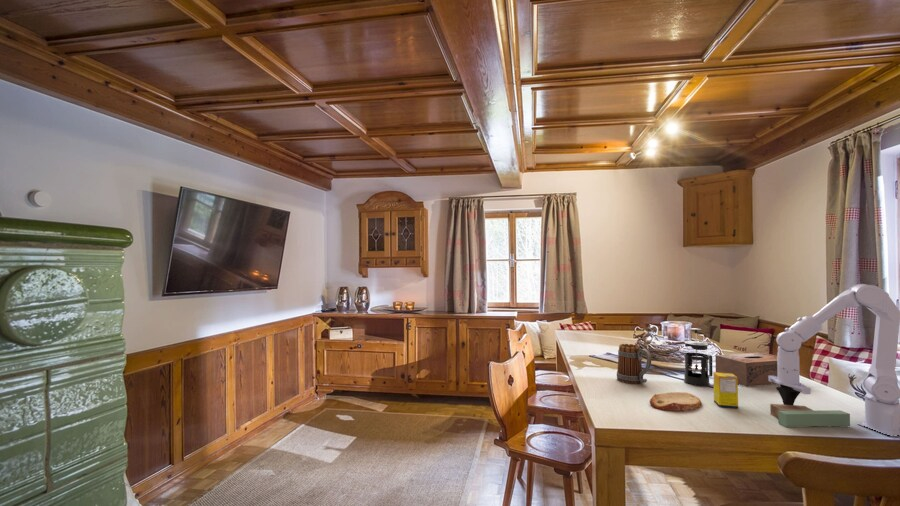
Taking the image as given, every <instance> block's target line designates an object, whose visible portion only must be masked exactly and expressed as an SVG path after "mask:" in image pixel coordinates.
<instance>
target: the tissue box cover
mask: <svg viewBox="0 0 900 506" xmlns="http://www.w3.org/2000/svg"><path fill="white" fill-rule="evenodd" d="M715 372H720V373H732V374H733V375H735V376H736V377H737V381H738V385H739V384H740V386H744V387H756V386H757V387H758V386H769V385H778V384H777V383H774V382H770V381H769V380H768V376H776V377H778V375H777V355H773V354H770V353H766V352H748V353H729V354H728V353H727V354H715Z"/></svg>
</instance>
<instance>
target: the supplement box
mask: <svg viewBox="0 0 900 506" xmlns="http://www.w3.org/2000/svg"><path fill="white" fill-rule="evenodd" d="M712 377H713V378H712V379H713V402H714V403H715V405H716V406H717V407H719V408H731V409H739V394H738V393H739V392H738V391H739V390H738V389H739V388H738V386H739V384H738V381H737V377H736V376H735V375H733V374H732V373H720V372H716V371H713V376H712Z"/></svg>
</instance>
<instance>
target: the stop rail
mask: <svg viewBox="0 0 900 506" xmlns="http://www.w3.org/2000/svg"><path fill="white" fill-rule="evenodd" d="M777 420H778V423H779V425H781V426H783V427H785V426H786V427H785V428H808V427H807V426H840V427H839V428H844V427H843V426H850V427H851V414H850V413H848V412H846V411H843V410H839V409H838V410H835V409H834V410H829V409H828V410H814V411H778V419H777Z"/></svg>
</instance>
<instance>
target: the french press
mask: <svg viewBox="0 0 900 506" xmlns="http://www.w3.org/2000/svg"><path fill="white" fill-rule="evenodd" d="M690 331H694V334H695V340H688V341H687V340H685V341H684V342H683V344H685V347H686V348H687V347H691V349H693V350H695V352H690V351H689V352H684V353H683V354H684V355H683V357H684V373H683V374H684V380H683V382H684V383H685V384H687V385H690V386H695V387H710V385H711V383H710V377H713V372H714V371H713V355H711V354H705V353H701V352H698V351H707V350H708V346H709V343H707V342H703V341H697V340H698V339H697V334H698V331H702V329H701V328H697V327H696V328H695V327H694V328H692V327H691V328H690ZM693 360H694V361H695V365H693ZM698 361H700V365H698ZM698 372H699V373H698Z"/></svg>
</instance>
